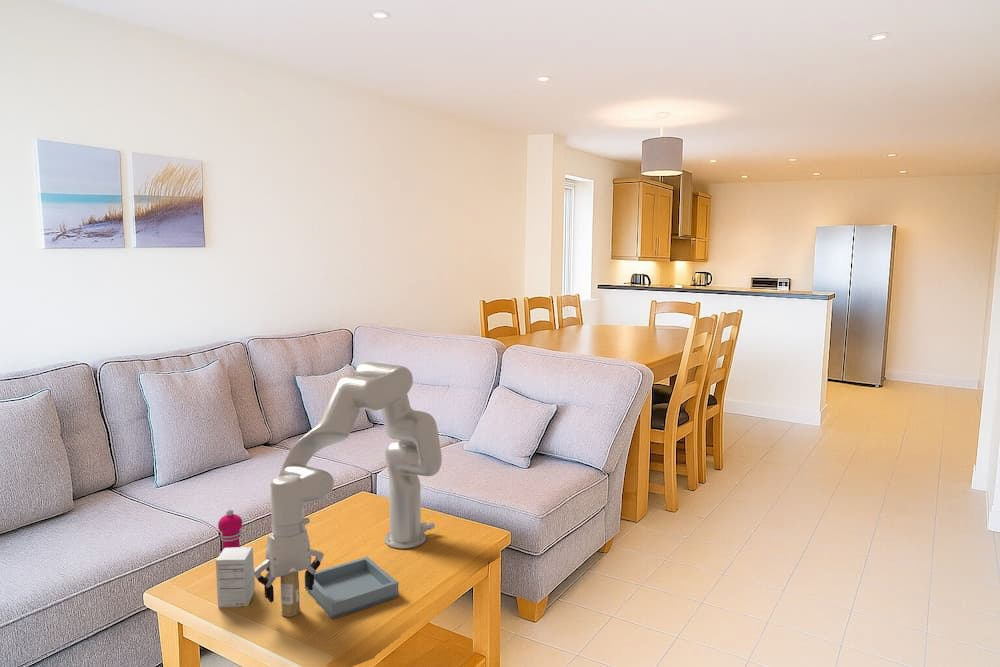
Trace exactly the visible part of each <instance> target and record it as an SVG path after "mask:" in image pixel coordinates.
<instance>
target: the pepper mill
mask: <svg viewBox="0 0 1000 667" xmlns="http://www.w3.org/2000/svg"><path fill="white" fill-rule="evenodd" d="M225 513H226V514H224V515H223V516H221V518H220V519H219V521H218V524H217V528H218V531H219V532H220V540H221V541H222V549H221V552H222V551H223V549H224V548H232V547H241V545H240V538H241V537H242V534H241V529H242V527H243V520H242V517H241V516H240V515H239V514H235V513H234V510H233V509H231V508H230V509H227V510H226V512H225Z"/></svg>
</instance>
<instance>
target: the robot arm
mask: <svg viewBox="0 0 1000 667" xmlns="http://www.w3.org/2000/svg"><path fill="white" fill-rule="evenodd" d="M413 381H414V380H413V374H412V371H410V369H409V368H407V367H406V366H403V365H399V364H398V365H396V364H388V363H381V362H371V361H365V362H363V363H360V364H359V365H358V366H357V367H356V369H355V372H354V376H353V375H347V376H344V377H341V378H340V379H339V380H338V381H337V383H336V384H335V387H334V388H333V391H332V394H331V396H330V398H329V400H328V402H327V404H326V406H325V409H324V411H323V413H322V415H321V418H320V419H319V422H318V423H317V424H316V426H315V427H314V428H312V429H311V430H309V431H308V432H307V433H305V434H304V435H303V436H302V437H301V438H300V439H298V440H297V441H296V442H295V444H293V446H292V447H291V448H290V450H289V452H288V453H287V455H286V458H285V459H284V461H283V464H282V467H281V469H280V471H279V475H278V476H277V477H275V478H274V479H273V480H272V481H271V483H270V484H269V485H270V488H269V489H270V516H271V518H270V519H271V521H270V522H271V532H269V534H268V535H267V539H266V547H265V548H266V550H265V560H264V561H263V562H261V563H260V564H259V565H258V566H256V567H255V568H254V570H253V571H252V573H253V574H254V578H256V580H257V582H259V583H260V584H261V585H263V586H264V598H266V599H267V600H268V601H269V603H273V602H274V601H275V600H274V599H275V598H274V595H275V594H274V591H275V590H274V585H273V583H274V581H275V580H276V579H277V578H281V576H285V575H288V574H289V573H291V572H289V571H290V569H291V568H293V567H294V568H295V569H296V570H295V571H294V572H298V573H300V572H301V571H302V572H303V571H304V586H305V585H306V587H307V588H308V589H309V590H313V584H314V574H315V573H316V571H317V570H318V569H319V567H320V566H321V562H322V561H323V558H324V555H325V553H324V552H323V551H321V550H316V549H312V548H311V544H310V538H309V533H308V530H307V527H306V525H307V524H309V523H310V522H311V520H310V518H309V517H305V513H304V509H305V508H304V506H305V504H308V503H311V502H313V503H314V502H316V501H317V502H318V501H321V500H323V499H325V498H326V497H328V496H329V495H330V494H331V493H332V492H333V489H334V485H335V481H334V477H333V475H332V474H331V473H330V472H328V471H326V470H323V469H320V468H315V467H311V466H307V465H308V463H309V461H310V460H311V459H312V457H313V456H315V454H316V453H317V452H320V450H323V449H324V448H326V447H329V446H333V445H335V444H337V443H340V442H343V441H345V440H347V439H348V438H349V437H350V434H351V432H352V429H353V427H354V424H355V422H356V420H357V418H358V417H359V413H360V411H361V410H365V411H371V412H372V411H374V412H377V411H381V415H382V421H383V426H384V430H385V433H386V436H387V437H388V438H390V439H392V440H393V441H391V442H390V443H388V446H387V447H386V449H385V455H384V456H385V457H384V458H385V465H386V468H387V473H388V490H389V491H388V492H389V493H388V496H389V497H388V499H389V505H388V506H389V507H388V508H389V509H388V510H389V511H388V512H389V532H388V533H386V534H385V536H384V543H385V544H386V545H387V546H389V547H390V548H391V547H392V548H394V549H403V550H404V549H412V548H417V547H418V546H421V545H422V544H424V543H425V542H426V539H427V535H426V532H427V531H429V530H433V529H435V528H436V526H435V523H434V522H428V523H427V522H426V521H423V522H422V520H421V519H422V516H421V514H422V512H421V511H422V510H421V507H422V506H421V505H422V503H421V502H422V500H421V499H422V497H421V491H422V490H421V489H422V488H421V487H422V486H421V482H420V481H421V480H420V478H419V476H423V477H433V476H435V475H437V474H438V473H439V471H440V469H441V466H442V461H443V460H442V459H443V458H442V449H441V443H440V442H441V441H440V438H439V437H440V436H439V429H438V426H437V422H436V420H435V418H434V416H433V415H432V414H430V413H429V412H425V411H420V410H415V409H413V408H412V407H411V404H410V400H409V399H410V398H409V396H408V394H409V392H410V390H411V389H412V386H413ZM312 557H315V559H314V560H313V561H312ZM264 571H266V572H267V573H266V574H265V576H264V575H262V574H261V573H262V572H264Z"/></svg>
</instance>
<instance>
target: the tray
mask: <svg viewBox="0 0 1000 667" xmlns="http://www.w3.org/2000/svg"><path fill="white" fill-rule="evenodd" d="M305 589H306V590H307V591H308V592H307V591H306V590H305ZM304 590H305V591H306V592H307V593H308V595H309V596H312V597H313V598H314V599H315V600H316V601H315V600H314V599H313V598H312V597H311V598H312V599H313V600H314V601H315V602H316V604H318V605H319V606H321V607H322V608H323V609H324V610H325V611H324V610H323V609H322V608H321V609H322V610H323V611H324V612H325V613H326V615H327V616H328V617H329V618H330V619H331V620H335V619H338V618H341V616H342V617H344V615H345V616H346V615H347V616H348V615H350V614H353V613H356V612H358V611H362V610H365V609H368V608H371V607H374V606H377V605H380V604H383V603H385V602H388V601H391V600H394V599H395V600H396V599H398V598H399V582H398V580H396V578H394V577H392V576H391V575H390V574H389V573H387V571H385V570H384V569H383V568H382V567H381V566H379V565H378V564H377V563H376V562H374V561H373V560H372V559H371V558H370V557H369V556H365V557H362V558H358V559H355V560H354V559H353V560H351V561H348V562H344V563H341V564H338V565H334V566H331V567H328V568H324V569H320V570H316V573H315V574H314V584H313V590H309V589H308V588H307V587H306V585H305V584H304Z"/></svg>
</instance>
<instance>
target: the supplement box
mask: <svg viewBox="0 0 1000 667" xmlns="http://www.w3.org/2000/svg"><path fill="white" fill-rule="evenodd" d="M222 549H223V548H222ZM254 566H255V565H254V547H253V546H240V547H232V548H224V549H223V551H222V550H221V552H220V553H219V555H218V557H217V558H216V559H215V571H216V572H215V573H216V574H215V576H216V594H217V607H218V608H238V607H239V608H241V606H244V607H248V606H249V604H250V602H251V600H252V598H253V596H254V594H255V592H256V590H255V588H256V587H255V576H254V574H253V573H252V571H253V570H254V569H255V568H254Z"/></svg>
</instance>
